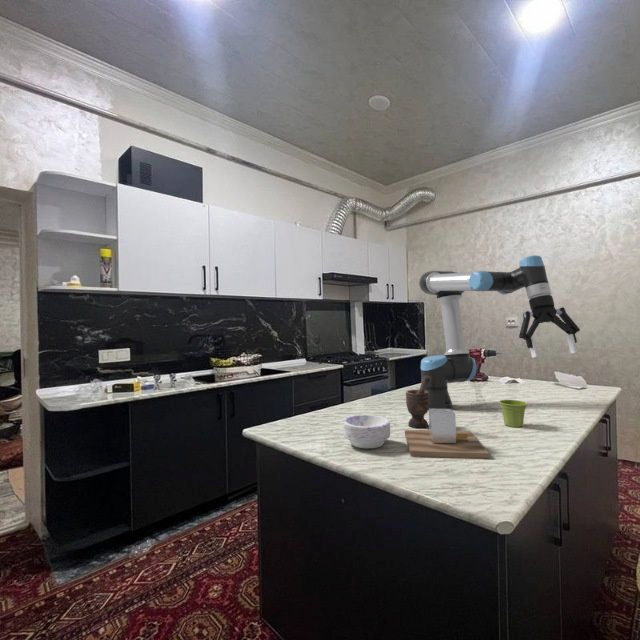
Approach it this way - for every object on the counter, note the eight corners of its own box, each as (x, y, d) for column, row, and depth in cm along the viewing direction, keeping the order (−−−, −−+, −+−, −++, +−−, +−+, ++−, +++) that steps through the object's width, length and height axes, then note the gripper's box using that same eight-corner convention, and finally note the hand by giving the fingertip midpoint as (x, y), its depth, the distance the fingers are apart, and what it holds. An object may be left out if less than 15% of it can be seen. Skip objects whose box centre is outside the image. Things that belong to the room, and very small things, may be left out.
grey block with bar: (432, 442, 115) (431, 413, 115) (429, 435, 122) (428, 408, 122) (469, 443, 113) (468, 414, 113) (464, 436, 120) (463, 408, 120)
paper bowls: (379, 455, 110) (378, 428, 110) (335, 447, 118) (334, 422, 118) (397, 441, 123) (396, 417, 123) (356, 435, 131) (355, 412, 131)
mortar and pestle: (441, 427, 138) (440, 373, 138) (428, 432, 132) (427, 376, 132) (415, 421, 146) (414, 371, 147) (402, 426, 141) (400, 373, 141)
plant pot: (526, 423, 140) (526, 400, 140) (529, 430, 132) (528, 405, 132) (499, 421, 144) (498, 399, 144) (500, 427, 136) (499, 404, 136)
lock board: (404, 434, 130) (404, 429, 130) (470, 435, 127) (469, 430, 127) (410, 456, 109) (410, 450, 109) (489, 458, 105) (489, 452, 105)
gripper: (510, 298, 130) (524, 357, 125) (581, 290, 130) (597, 349, 125) (501, 303, 138) (513, 360, 133) (568, 296, 137) (583, 352, 132)
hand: (554, 355), depth 129 cm, fingers open, 13 cm apart
